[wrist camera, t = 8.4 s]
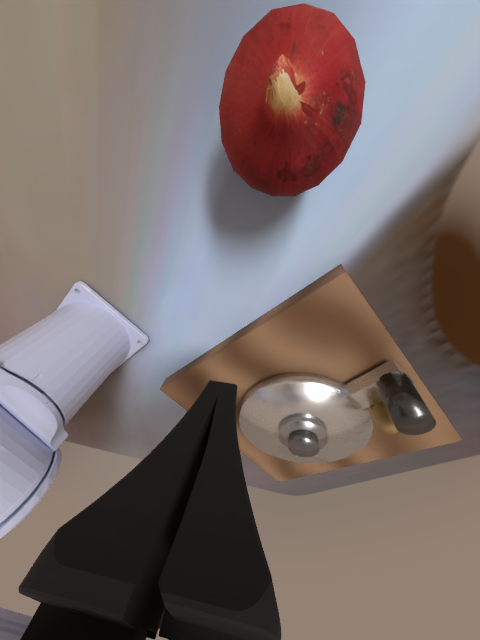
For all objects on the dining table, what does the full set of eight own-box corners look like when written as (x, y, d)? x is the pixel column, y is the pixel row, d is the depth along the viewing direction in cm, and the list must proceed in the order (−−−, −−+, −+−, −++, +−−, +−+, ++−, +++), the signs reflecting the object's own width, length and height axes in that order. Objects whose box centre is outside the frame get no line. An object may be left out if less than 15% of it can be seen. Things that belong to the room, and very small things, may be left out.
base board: (279, 469, 32) (278, 513, 28) (165, 378, 26) (143, 418, 22) (452, 425, 23) (490, 482, 19) (340, 264, 16) (360, 295, 12)
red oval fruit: (364, 83, 12) (477, -43, 5) (310, 205, 15) (333, 231, 8) (255, 39, 11) (215, -155, 5) (224, 172, 14) (173, 170, 8)
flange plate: (298, 463, 27) (301, 509, 23) (217, 411, 24) (205, 454, 20) (445, 406, 19) (485, 463, 15) (350, 318, 16) (370, 362, 12)
